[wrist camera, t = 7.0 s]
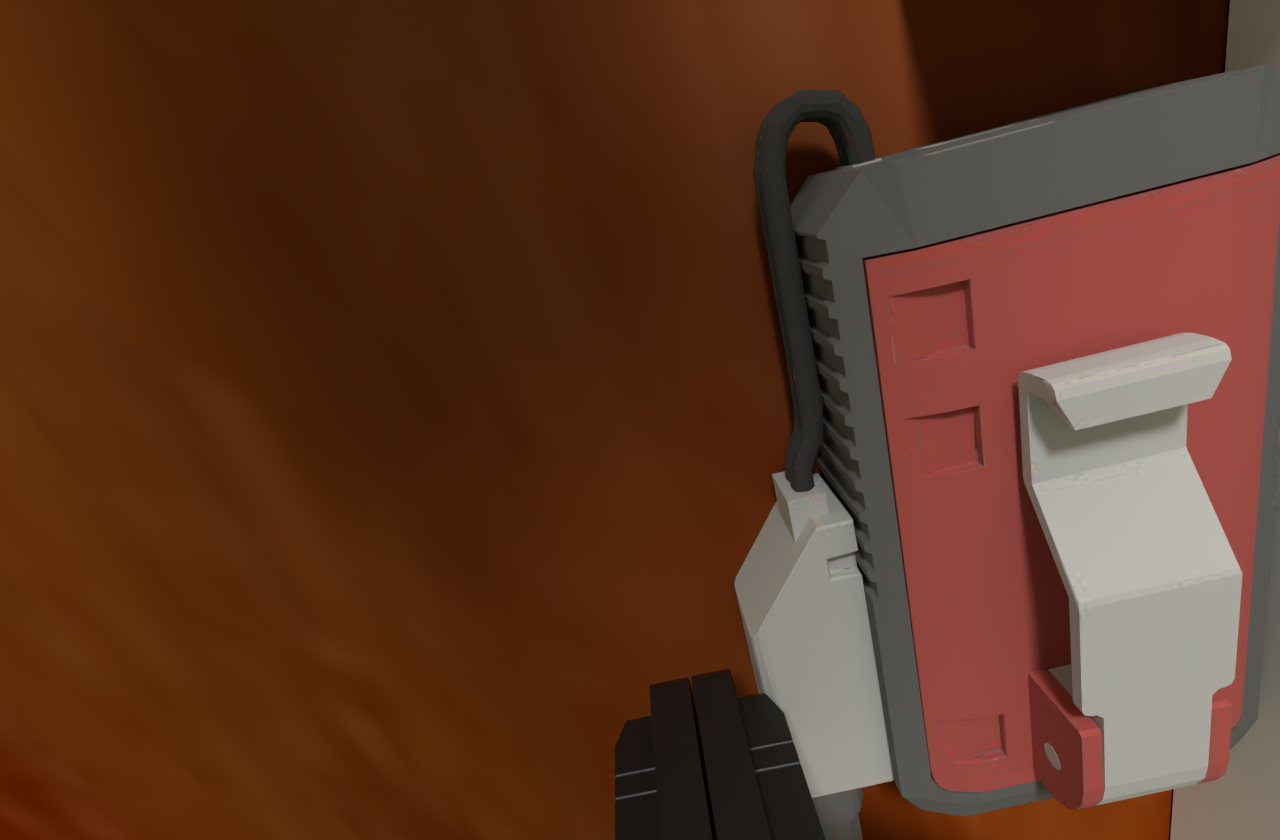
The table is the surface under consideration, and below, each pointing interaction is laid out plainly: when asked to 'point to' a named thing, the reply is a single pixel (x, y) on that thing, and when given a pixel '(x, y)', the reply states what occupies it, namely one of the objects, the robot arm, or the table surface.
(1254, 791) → the white c-shaped bracket
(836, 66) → the table surface
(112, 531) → the table surface
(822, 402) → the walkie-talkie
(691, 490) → the table surface
